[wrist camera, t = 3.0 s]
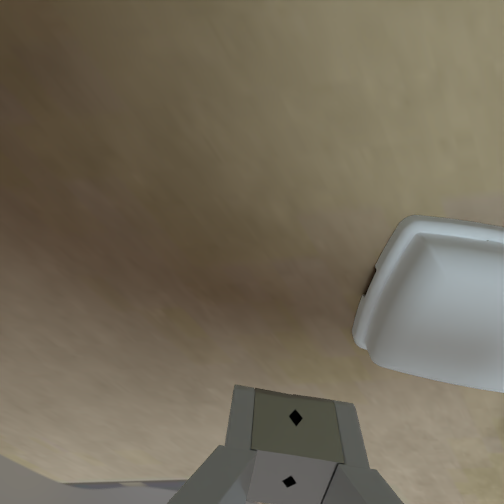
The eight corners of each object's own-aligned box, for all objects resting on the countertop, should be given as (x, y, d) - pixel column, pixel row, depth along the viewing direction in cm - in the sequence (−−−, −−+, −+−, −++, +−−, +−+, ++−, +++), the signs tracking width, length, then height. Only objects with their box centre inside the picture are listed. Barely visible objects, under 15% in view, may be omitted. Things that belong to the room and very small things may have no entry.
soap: (615, 248, 14) (695, 290, 11) (519, 370, 17) (563, 424, 14) (398, 202, 13) (428, 234, 11) (340, 336, 16) (353, 386, 14)
